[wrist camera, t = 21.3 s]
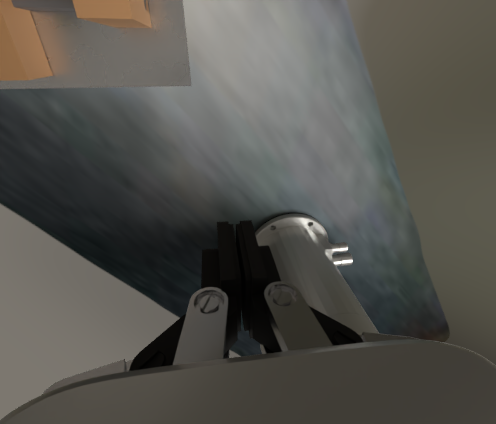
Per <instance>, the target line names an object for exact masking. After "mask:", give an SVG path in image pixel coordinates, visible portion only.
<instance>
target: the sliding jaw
mask: <svg viewBox="0 0 496 424" xmlns="http://www.w3.org/2000/svg"><path fill="white" fill-rule="evenodd" d="M30 10H32V11H76V15H77V18H80V19H84V20H88V21H91V22H95V23H99V24H103V25H107V26H111V27H122V28H152V26H151V19H150V13H149V7H148V1H147V0H0V81H10V80H33V79H38V78H43V77H49V76H53V74H52V71H51V69H50V66H49V63H48V60H47V57H46V55H45V52H44V49H43V46H42V43H41V41H40V38H39V35H38V32H37V30H36V27H35V24H34V21H33V18H32V16H31V13H30Z"/></svg>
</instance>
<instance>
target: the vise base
mask: <svg viewBox="0 0 496 424" xmlns="http://www.w3.org/2000/svg"><path fill="white" fill-rule="evenodd" d="M147 1H148V7H149V13H150V19H151V26H152V28H122V27H111V26H107V25H103V24H99V23H95V22H91V21H88V20H84V19H80V18H77V15H76V11H32V10H30V13H31V16H32V18H33V21H34V24H35V27H36V30H37V32H38V35H39V38H40V41H41V43H42V46H43V49H44V52H45V55H46V57H47V60H48V63H49V66H50V69H51V71H52V74H53V76H49V77H43V78H38V79H33V80H10V81H0V89H36V88H93V87H151V86H191V76H190V66H189V56H188V47H187V37H186V28H185V18H184V8H183V0H147Z"/></svg>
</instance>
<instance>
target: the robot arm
mask: <svg viewBox="0 0 496 424" xmlns="http://www.w3.org/2000/svg"><path fill="white" fill-rule="evenodd" d="M217 230H218V249H203V250H202V280H201V289H200V290H198V291H197V292H195V293H194V295H193V296H192V297H191V299H190V302H189V306H188V310H187V313H186V314H185V315H183V316H182V317H181V318H180V319H179V320H177V321H176V322H175V323H174V324H173V325H172V326H170V327H169V328H168V329H167V330H166V331H164V332H163V333H162V334H161V335H160V336H159V337H157V338H156V339H155V340H154V341H152V342H151V343H150V344H149V345H148V346H147V347H145V348H144V349H143V350H142V351H141V352H140V353H139V354H138V355H137V356H136V357H135V358H134V359H133V360H130V361H127V362H125V359H124V360H120V361H117V362H114V363H111V364H108V365H105V366H102V367H99V368H96V369H93V370H89V371H86V372H83V373H80V374H77V375H74V376H71V377H68V378H65V379H62V380H60V381H58V382H56V383H54V384H53V385H51V386H50V387H49V388H48V389H46V390H45V391H44V393H43V394H42V395H41V396H39V397H37V398H35V399H33V400H31V401H29V402H27V403H25V404H24V405H22V406H20V407H18V408H17V409H15V410H14V411H12V412H10V413H9V414H8V415H6V416H5V417H4V418H2V419H1V420H0V424H496V366H495V365H494V364H493V363H491V362H490V361H488V360H487V359H486V358H484V357H482V356H481V355H479V354H477V353H475V352H473V351H470V350H468V349H465V348H462V347H459V346H455V345H451V344H446V343H443V342H438V341H430V340H419V339H416V338H413V337H405V336H396V335H386V334H379V333H378V331H377V329H376V328H375V326H374V325H373V323H372V322H371V320H370V319H369V317H368V316H367V314H366V313H365V311H364V309H363V308H362V306H361V305H360V303H359V302H358V300H357V298H356V297H355V295H354V294H353V292H352V291H351V289H350V288H349V286H348V284H347V283H346V281H345V280H344V278H343V277H342V275H341V273H340V272H339V270H338V269H337V267H336V266H345V265H351V264H352V262H353V259H352V256H351V254H350V253H349V252H347V253H339V254H336V255H332V254H333V252H345V251H347V250H348V246H347V244H346V243H345V242H343V243H336V244H331V243H330V242H328V236H327V233H326V231H325V229H324V227H323V226H322V225H321V223H320V222H319V221H317V220H316V219H315V218H313V217H311V216H308V215H304V214H286V215H282V216H278V217H276V218H274V219H271V220H270V221H268V222H266V223H265V224H263V225H262V226H261V227H260V228H259V229H258V230H257V231H256V232H254V228H253V225H252V222H251V221H240V224H236V242H235V236H234V229H233V224H228V222H217ZM241 311H242V318H243V325H244V331H247V330H249V335H250V338H253V339H255V340H256V341H258V342H259V343H260V347H261V351H262V354H260V355H251V356H243V357H235V358H229V349H230V348H231V347H232V345H233V344H234V343H235V342H236V341H237V332H238V331H241Z"/></svg>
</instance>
